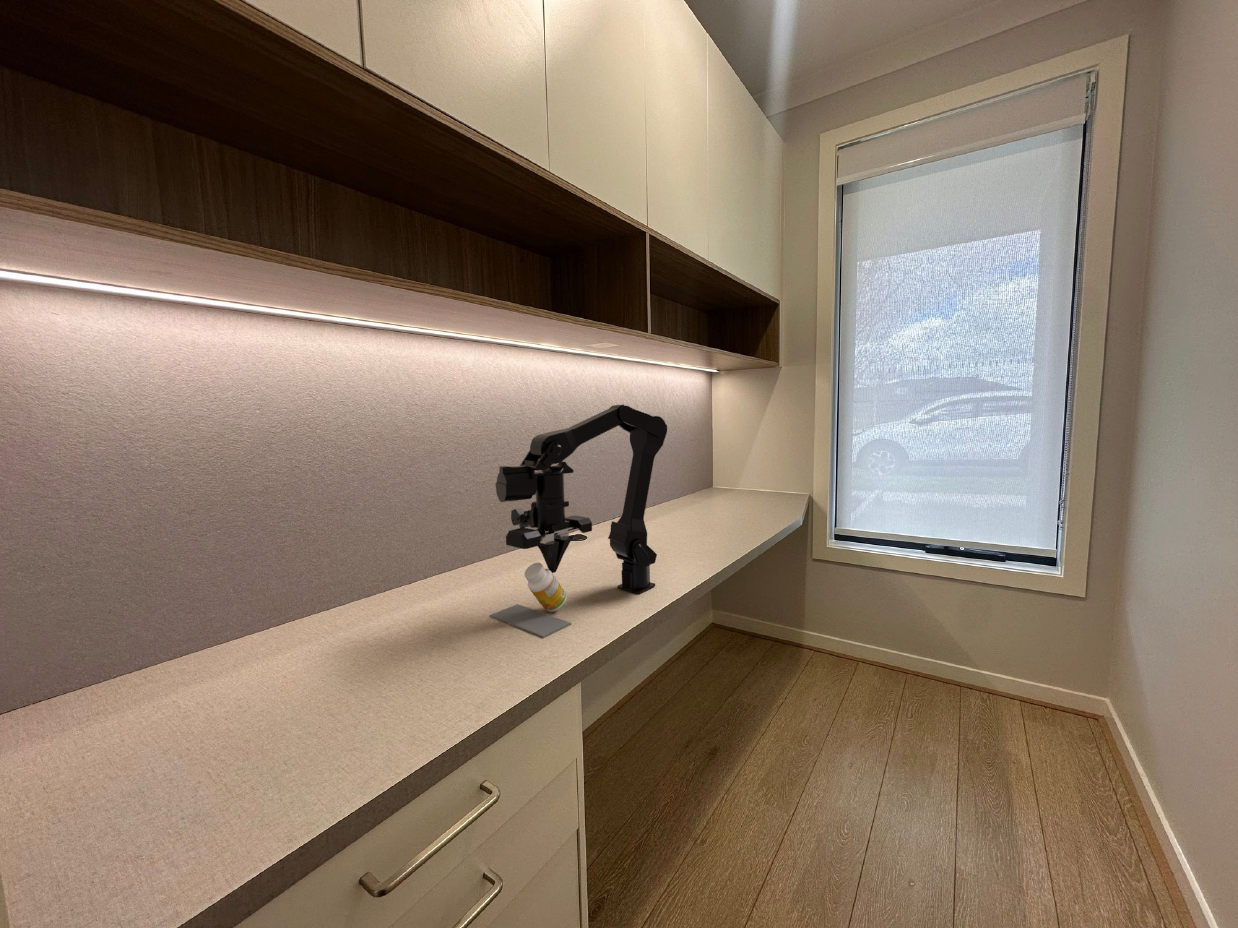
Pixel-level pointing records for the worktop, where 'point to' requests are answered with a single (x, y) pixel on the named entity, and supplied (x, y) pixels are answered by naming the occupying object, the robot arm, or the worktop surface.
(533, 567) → the supplement bottle
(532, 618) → the mat
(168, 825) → the worktop surface
